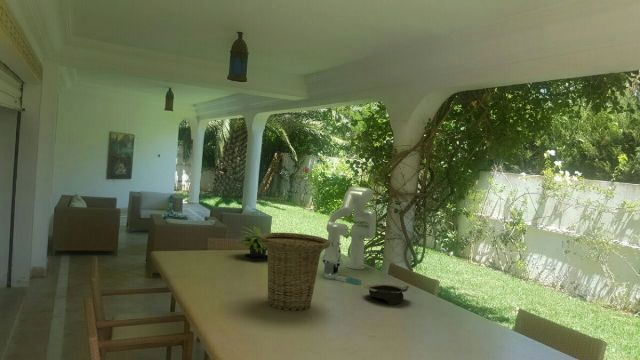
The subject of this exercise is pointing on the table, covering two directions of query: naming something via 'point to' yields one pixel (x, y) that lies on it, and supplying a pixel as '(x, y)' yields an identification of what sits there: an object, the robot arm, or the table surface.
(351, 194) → the robot arm
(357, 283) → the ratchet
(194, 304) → the table surface
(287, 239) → the wicker basket
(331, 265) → the brushed grey cube
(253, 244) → the fern plant
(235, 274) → the table surface
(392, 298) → the stone bowl
